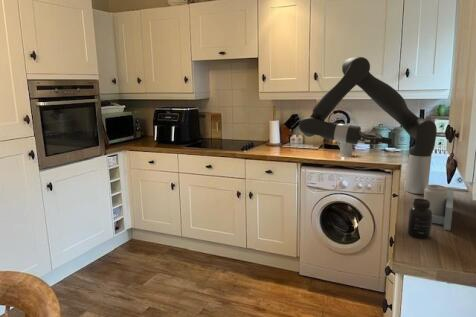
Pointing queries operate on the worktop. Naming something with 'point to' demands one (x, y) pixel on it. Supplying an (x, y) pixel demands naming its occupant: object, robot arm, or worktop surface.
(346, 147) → the glass holder
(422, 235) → the supplement bottle
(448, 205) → the stop bay
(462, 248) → the worktop surface
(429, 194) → the can
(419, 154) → the robot arm
